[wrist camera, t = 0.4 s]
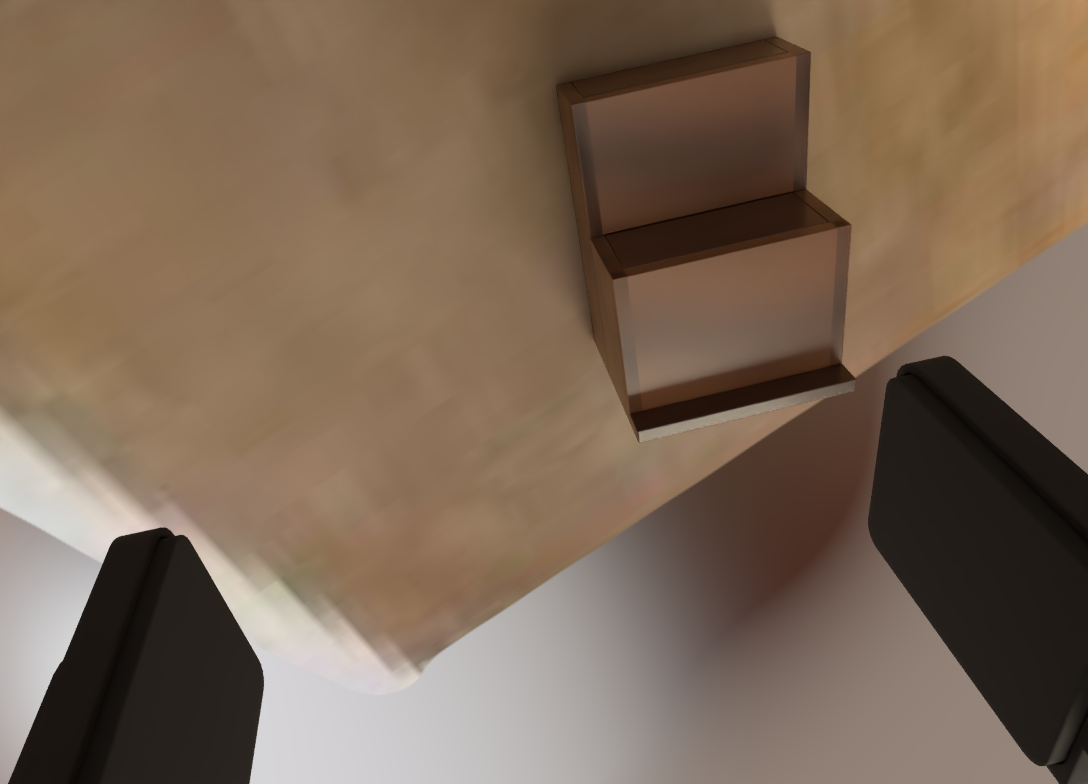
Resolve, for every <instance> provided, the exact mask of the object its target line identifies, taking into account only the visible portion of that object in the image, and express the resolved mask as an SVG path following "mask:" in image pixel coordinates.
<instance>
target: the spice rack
mask: <svg viewBox="0 0 1088 784" xmlns="http://www.w3.org/2000/svg"><path fill="white" fill-rule="evenodd" d="M810 61H811V52H809V51H807V50H805V49H803V48H801V47H798V46H796V45H794V44H792V43H790V42H787V41H785V40H783V39H781V38H779V37H774V38H769V39H765V40H760V41H756V42H751V43H747V44H742V45H738V46H733V47H729V48H724V49H719V50H715V51H710V52H706V53H701V54H697V55H692V56H688V57H683V58H679V59H674V60H670V61H665V62H660V63H656V64H651V65H647V66H642V67H638V68H633V69H629V70H624V71H620V72H615V73H611V74H606V75H602V76H597V77H592V78H588V79H583V80H579V81H574V82H571V83H565V84H561V85H557V86H556V89H557V95H558V102H559V108H560V115H561V122H562V128H563V135H564V141H565V148H566V155H567V161H568V168H569V174H570V181H571V188H572V194H573V201H574V207H575V214H576V221H577V227H578V234H579V240H580V247H581V254H582V260H583V267H584V273H585V280H586V287H587V293H588V300H589V306H590V313H591V320H592V326H593V333H594V339H595V343H596V346H597V348H598V350H599V352H600V355H601V357H602V359H603V362H604V364H605V366H606V369H607V371H608V373H609V375H610V378H611V380H612V382H613V385H614V387H615V389H616V392H617V394H618V396H619V399H620V401H621V403H622V405H623V408H624V410H625V412H626V415H627V417H628V419H629V422H630V424H631V426H632V428H633V431H634V433H635V435H636V438H637V440H638V442H639V443H640V442H644V441H648V440H653V439H657V438H661V437H665V436H669V435H673V434H677V433H682V432H686V431H690V430H694V429H698V428H702V427H707V426H711V425H715V424H719V423H723V422H727V421H731V420H736V419H740V418H744V417H748V416H752V415H756V414H761V413H765V412H769V411H773V410H777V409H781V408H785V407H790V406H794V405H798V404H802V403H806V402H810V401H815V400H819V399H823V398H827V397H831V396H835V395H839V394H843V393H847V392H851V391H855V386H856V379H855V377H854V376H853V375H852V374H851V373H850V372H849V371H848V370H847V369H846V368H845V366H844V365H843V364H842V353H843V339H844V325H845V311H846V297H847V283H848V269H849V255H850V241H851V227H852V225H851V224H850V223H849V222H847V221H846V220H845V219H843V218H842V217H841V216H840V215H838V214H837V213H836V212H834V211H833V210H832V209H831V208H829V207H828V206H827V205H826V204H824V203H823V202H822V201H820V200H819V199H818V198H817V197H815V196H814V195H813V194H812V193H810V192H809V191H808V190H806V180H807V150H808V120H809V90H810ZM762 198H763V199H762ZM758 199H762V200H758ZM753 200H758V201H754V202H749V201H753ZM744 202H749V203H745V204H740V203H744ZM736 204H740V205H736ZM731 205H736V206H732V207H727V206H731ZM723 207H727V208H723ZM718 208H723V209H719V210H714V209H718ZM710 210H714V211H710ZM705 211H710V212H705ZM701 212H705V213H701ZM696 213H701V214H697V215H692V214H696ZM688 215H692V216H688ZM683 216H688V217H684V218H679V217H683ZM675 218H679V219H675ZM670 219H675V220H671V221H666V220H670ZM662 221H666V222H662ZM657 222H662V223H657ZM653 223H657V224H653ZM648 224H653V225H649V226H644V225H648ZM640 226H644V227H640ZM635 227H640V228H636V229H631V228H635ZM627 229H631V230H627ZM622 230H627V231H623V232H618V231H622ZM614 232H618V233H614ZM609 233H614V234H609ZM605 234H609V235H605ZM604 235H605V236H604Z"/></svg>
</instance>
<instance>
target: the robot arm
mask: <svg viewBox="0 0 1088 784" xmlns="http://www.w3.org/2000/svg"><path fill="white" fill-rule="evenodd" d="M868 527H869V532H870V535H871V538H872V541H873V543H874V545H875V546H876V548H877V549H878V551H879V552H880V553H881V555H882V556H883V558H884V559H885V560H886V562H887V563H888V565H889V566H890V567H891V569H892V570H893V572H894V573H895V574H896V576H897V577H898V579H899V580H900V581H901V583H902V584H903V585H904V587H905V588H906V590H907V591H908V593H909V594H910V595H911V597H912V598H913V599H914V601H915V602H916V604H917V605H918V606H919V608H920V609H921V611H922V612H923V613H924V615H925V616H926V617H927V619H928V620H929V622H930V623H931V624H932V626H933V627H934V629H935V630H936V631H937V633H938V634H939V636H940V637H941V638H942V640H943V641H944V643H945V644H946V645H947V647H948V648H949V650H950V651H951V652H952V654H953V655H954V657H955V658H956V659H957V661H958V662H959V663H960V665H961V666H962V668H963V669H964V670H965V672H966V673H967V675H968V676H969V677H970V679H971V680H972V682H973V683H974V684H975V686H976V687H977V689H978V690H979V691H980V693H981V694H982V696H983V697H984V698H985V700H986V701H987V702H988V704H989V705H990V707H991V708H992V709H993V711H994V712H995V714H996V715H997V716H998V718H999V719H1000V721H1001V722H1002V723H1003V725H1004V726H1005V728H1006V729H1007V730H1008V732H1009V733H1010V734H1011V736H1012V737H1013V738H1014V740H1015V741H1016V743H1017V744H1018V746H1019V747H1020V748H1021V750H1022V751H1023V752H1024V754H1025V755H1026V756H1027V757H1028V758H1029V759H1030V760H1031V761H1032V762H1033V763H1035V764H1036V765H1039V766H1047V767H1048V769H1049V770H1050V772H1051V773H1052V774H1053V776H1054V777H1055V778H1056V780H1057V781H1058V782H1059V784H1088V474H1087V473H1085V472H1084V471H1083V470H1082V469H1081V468H1080V467H1079V466H1077V465H1076V464H1075V463H1074V462H1073V461H1072V460H1071V459H1069V458H1068V457H1067V456H1066V455H1065V454H1064V453H1062V452H1061V451H1060V450H1059V449H1058V448H1057V447H1056V446H1054V445H1053V444H1052V443H1051V442H1050V441H1049V440H1047V439H1046V438H1045V437H1044V436H1043V435H1042V434H1041V433H1039V432H1038V431H1037V430H1036V429H1035V428H1034V427H1032V426H1031V425H1030V424H1029V423H1028V422H1027V421H1025V420H1024V419H1023V418H1022V417H1021V416H1020V415H1018V414H1017V413H1016V412H1015V411H1014V410H1013V409H1012V408H1010V407H1009V406H1008V405H1007V404H1006V403H1005V402H1004V401H1002V400H1001V399H1000V398H999V397H998V396H997V395H996V394H994V393H993V392H992V391H991V390H990V389H989V388H987V387H986V386H985V385H984V384H983V383H982V382H981V381H979V380H978V379H977V378H976V377H975V376H973V375H972V374H971V373H970V372H969V371H968V370H966V369H965V368H964V367H963V366H962V365H961V364H960V363H959V362H957V361H956V360H955V359H953V358H951V357H949V356H941V357H937V358H932V359H927V360H923V361H918V362H913V363H909V364H905V365H903V366H901V368H900V369H899V370H898V373H897V377H896V378H893V379H890V380H889V382H888V383H887V387H886V393H885V400H884V408H883V415H882V422H881V430H880V437H879V445H878V451H877V459H876V466H875V473H874V481H873V489H872V496H871V503H870V511H869V517H868ZM263 689H264V677H263V670H262V667H261V664H260V661H259V659H258V658H257V656H256V654H255V652H254V651H253V649H252V647H251V645H250V644H249V642H248V640H247V638H246V637H245V635H244V633H243V632H242V630H241V628H240V626H239V625H238V623H237V621H236V620H235V618H234V616H233V614H232V613H231V611H230V609H229V607H228V606H227V604H226V602H225V601H224V599H223V597H222V595H221V594H220V592H219V590H218V589H217V587H216V585H215V583H214V582H213V580H212V578H211V576H210V575H209V573H208V571H207V570H206V568H205V566H204V564H203V563H202V561H201V559H200V557H199V556H198V554H197V552H196V551H195V549H194V547H193V545H192V544H191V542H190V541H189V539H188V538H187V537H186V536H184V535H178V536H174V534H173V533H172V532H171V531H170V530H169V529H167V528H157V529H152V530H148V531H143V532H139V533H134V534H129V535H125V536H120V537H118V538H116V539H115V540H114V541H113V542H112V544H111V545H110V547H109V550H108V552H107V555H106V557H105V560H104V562H103V564H102V567H101V570H100V572H99V574H98V577H97V579H96V582H95V584H94V587H93V589H92V591H91V594H90V596H89V599H88V601H87V604H86V606H85V608H84V611H83V613H82V616H81V618H80V621H79V623H78V625H77V628H76V630H75V633H74V635H73V638H72V640H71V642H70V645H69V647H68V650H67V652H66V655H65V657H64V660H63V661H62V662H61V663H60V664H59V666H58V668H57V670H56V671H55V673H54V675H53V677H52V680H51V682H50V684H49V687H48V689H47V691H46V694H45V696H44V699H43V701H42V703H41V706H40V708H39V711H38V713H37V715H36V718H35V720H34V723H33V725H32V728H31V730H30V732H29V735H28V737H27V739H26V742H25V744H24V747H23V749H22V752H21V754H20V757H19V759H18V761H17V764H16V766H15V769H14V771H13V773H12V776H11V778H10V780H9V783H8V784H249V782H250V776H251V769H252V763H253V756H254V748H255V743H256V736H257V730H258V723H259V716H260V710H261V702H262V696H263Z"/></svg>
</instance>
